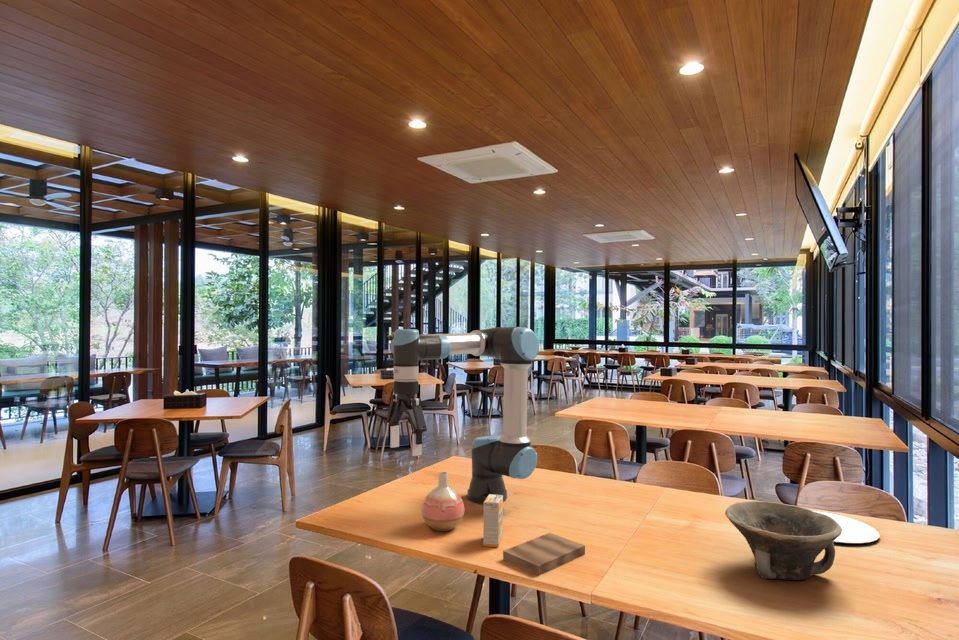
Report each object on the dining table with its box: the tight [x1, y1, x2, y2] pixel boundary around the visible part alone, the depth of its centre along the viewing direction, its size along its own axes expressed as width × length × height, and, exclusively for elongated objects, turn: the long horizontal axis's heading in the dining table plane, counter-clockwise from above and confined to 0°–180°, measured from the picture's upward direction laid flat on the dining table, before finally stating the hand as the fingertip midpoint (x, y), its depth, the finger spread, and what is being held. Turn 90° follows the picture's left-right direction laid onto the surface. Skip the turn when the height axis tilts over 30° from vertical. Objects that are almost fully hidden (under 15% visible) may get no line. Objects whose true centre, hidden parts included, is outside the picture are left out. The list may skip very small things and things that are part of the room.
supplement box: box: [482, 494, 504, 548], centre depth 163 cm, size 8×5×13 cm, turn 168°
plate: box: [813, 510, 881, 545], centre depth 175 cm, size 29×29×2 cm
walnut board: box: [502, 532, 586, 577], centre depth 152 cm, size 20×13×2 cm, turn 133°
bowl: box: [724, 500, 842, 581], centre depth 143 cm, size 27×26×15 cm
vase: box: [421, 471, 465, 532], centre depth 174 cm, size 14×14×18 cm
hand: (405, 451), depth 163 cm, fingers open, 13 cm apart
